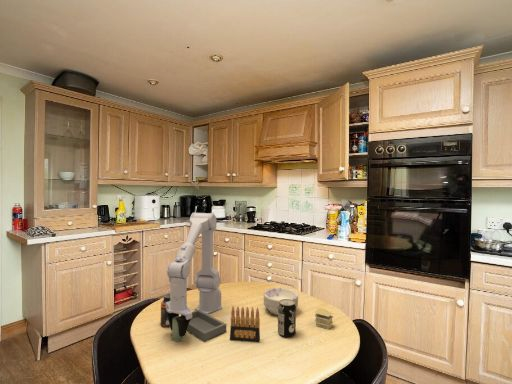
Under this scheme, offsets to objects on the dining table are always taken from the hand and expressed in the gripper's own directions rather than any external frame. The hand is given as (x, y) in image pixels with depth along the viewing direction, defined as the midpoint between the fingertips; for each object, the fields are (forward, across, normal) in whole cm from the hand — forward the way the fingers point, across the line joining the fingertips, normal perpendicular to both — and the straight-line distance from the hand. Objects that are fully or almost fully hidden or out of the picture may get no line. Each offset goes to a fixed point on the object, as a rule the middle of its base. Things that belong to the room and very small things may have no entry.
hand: (178, 332), depth 102 cm
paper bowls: (+2, +12, +44) cm, 46 cm away
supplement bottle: (+2, -12, +3) cm, 13 cm away
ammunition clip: (+2, +18, +16) cm, 24 cm away
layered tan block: (+2, +32, +46) cm, 56 cm away
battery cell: (+2, 0, 0) cm, 2 cm away
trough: (+2, 0, +10) cm, 10 cm away
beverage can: (+2, +26, +30) cm, 40 cm away
